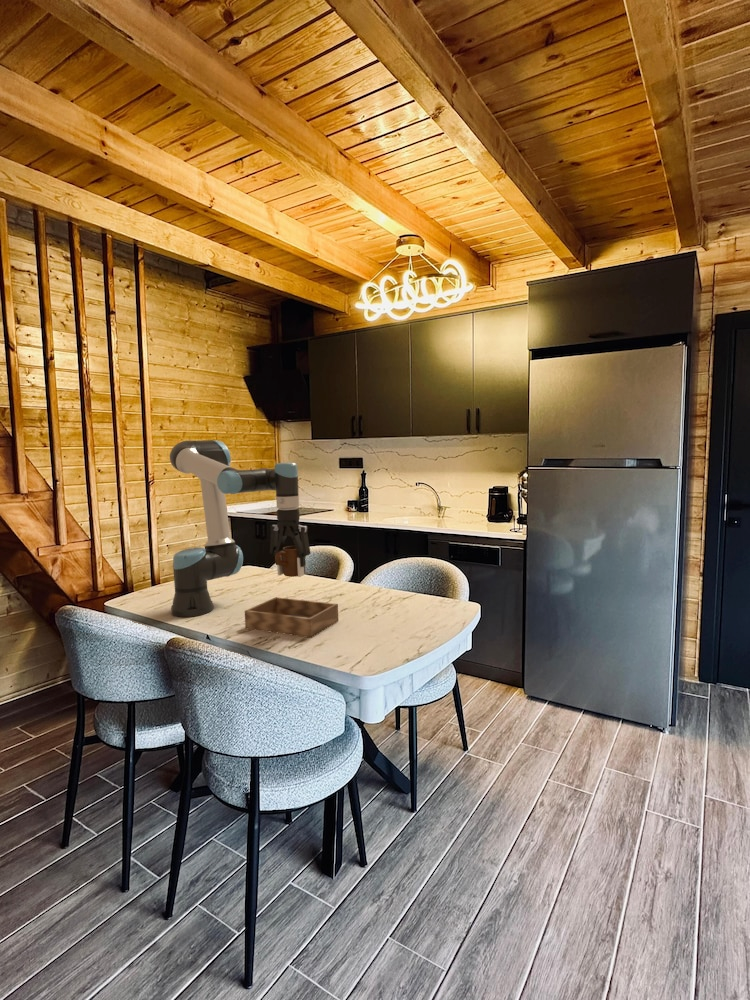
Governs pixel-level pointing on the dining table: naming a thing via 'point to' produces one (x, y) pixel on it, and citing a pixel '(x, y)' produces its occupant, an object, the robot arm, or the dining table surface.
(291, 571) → the mug
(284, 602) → the crate
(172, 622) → the dining table surface
